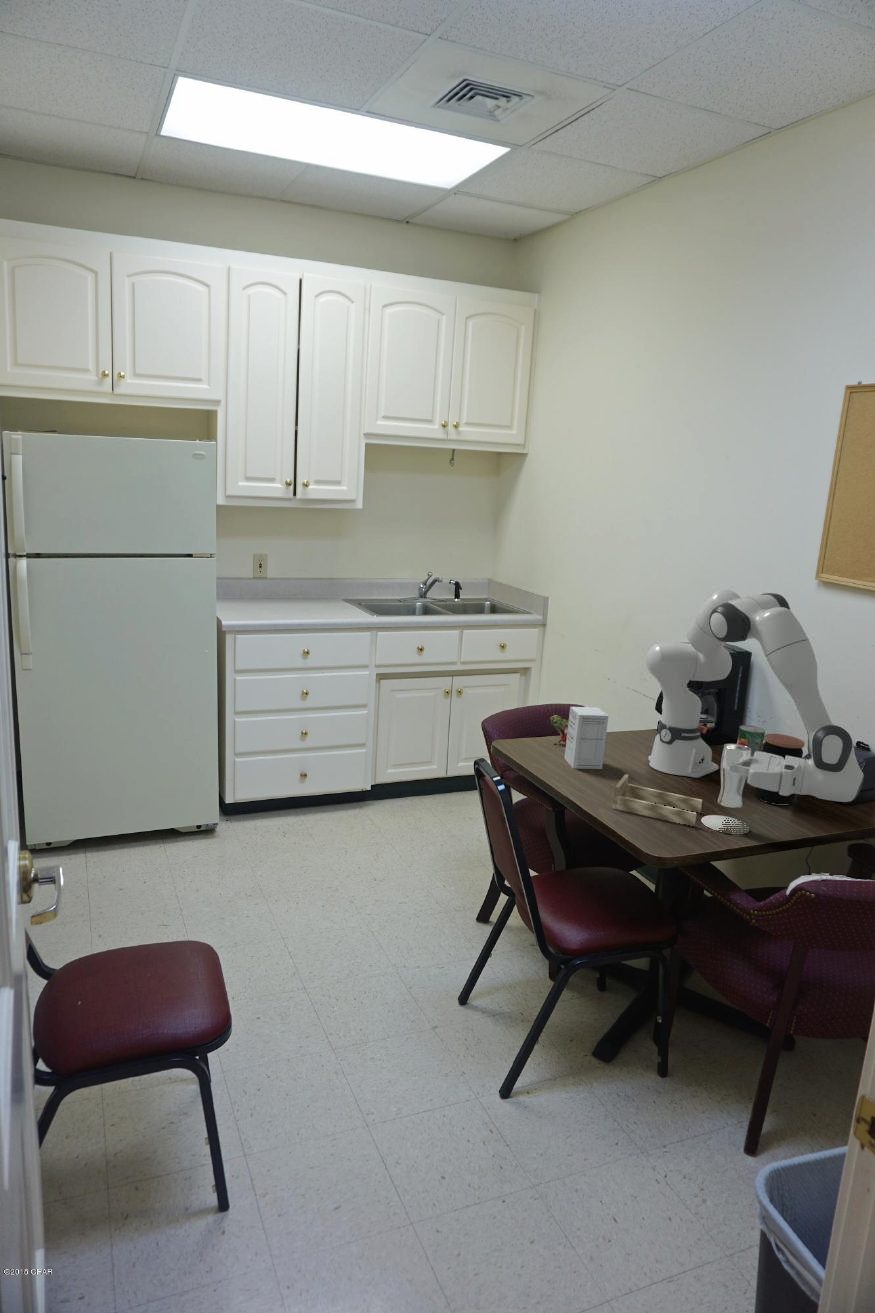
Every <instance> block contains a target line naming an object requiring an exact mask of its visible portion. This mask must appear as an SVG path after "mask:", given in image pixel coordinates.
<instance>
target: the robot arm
mask: <svg viewBox="0 0 875 1313" xmlns="http://www.w3.org/2000/svg"><path fill="white" fill-rule="evenodd" d="M686 637H687V641H688V643H683V642H671V641H669V642H661V643H660V642H659V643H655V644H653V645H652V646H651V647H650V648H649V650H648V652H647V653H646V658H645V659H646V660H645V663H646V667H647V669H648V672H649V673H650V674H651V675H652V676H653V677H654V678H655V679H656V680H657V682H658V683H659V686H660V688H661V691H662V700H663V701H662V712H661V717H660V718H661V719H660V720H659V722H658V729H657V732H658V734H657V735H655V739H654V743H653V746H652V749H651V754H650V755H648V758H647V760H648V761H649V766H650V767H651V768H653V769H654V770H656V771H659V772H662V773H666V774H670V775H677V776H684V777H691V778H696V779H697V778H701V777H703V776H705V775H707V774H711V773H713V772H715V771H717V770H719V765H718V764H717V763H714V762H713V761H712V760H713V759H712V758H713V756H712V755H713V751H712V748H711V747H710V746H709V745H708V744H707V743H706V742H705V741H704V740H703V739H702V737H701V736H702V735H701V733H702V734H706V733H707V729H708V728H707V727H706V726H703V725H699V724H700V717H701V711H702V706H703V705H702V701H701V699H700V698H699V696H698V695H696V693H694V692H692V691H691V690H689V689H688V681H695V682H697V681H699V682H712V681H721V680H724V679H726V678H727V677H728V675H730V672H731V670H732V667H733V665H732V664H733V661H732V656H731V654H730V653H729V651H728V649H726V648H725V645H726V643H738V642H740V643H741V642H745V641H746V640H751V639H752V640H753V639H755V640H756V641H758V643H759V644H760V646H761V649H762V652H763V654H764V656H765V658H766V661H767V663H768V665H769V666H770V668H771V670H772V672H773V673H774V676H775V677H776V678H777V679H778V681H779V683H781V685H782V686H783V687H784V689H785V690H786V691H787V693H788V694H789V696H790V697H791V699H792V700H793V702H794V704H795V706H796V708H797V711H798V713H799V716H800V718H801V720H802V723H803V725H804V727H805V730H806V732H807V754H808V756H809V759H807V758H806V759H805V758H803V757H802V758H797V757H792V756H786V757H785V760H784V758H783V757H781V756H778V755H774V754H770V753H766V752H760V751H756V752H755V753H754V756H753V757H751V759H750V767H743V766H740V765H738V764H733V763H732V764H731V766H730V771H731V772H736V773H738V774H741V775H743V776H747V779H746V781H747V782H746V783H747V784H749V785H750V786H752V787H754V788H756V787H758V788H762V789H766V790H770V791H775V792H777V791H779V794H780V795H784V796H788V795H790V794H794V793H795V794H797V795H808V796H813V797H815V798H817V799H821V800H825V801H832V802H841V803H848V802H852V801H854V800H855V799H856V798H858V796H859V794H860V792H861V789H862V786H863V784H864V780H865V775H864V773H863V771H862V770H861V766H859V763H858V760H857V758H856V754H855V747H854V742H853V738H852V736H851V735H850V733H849V732H848V731H847V730H846V729H845V728H843V727H841V726H839V725H835V724H833V722H832V720H831V717H830V716H829V713H828V711H827V709H826V706H825V704H824V702H823V699H822V697H821V695H820V690H819V686H818V664H817V663H818V662H817V659H816V656H815V651H814V649H813V646H812V644H811V642H810V640H809V637H808V635H807V633H806V631H805V630H804V628H803V626H802V625H801V623H800V621H799V620H798V618H797V617H796V616H795V615H794V613H793V612H792V611H791V607H790V604H789V603H788V600H787V599H786V598H785V597H784V596H783V595H781V594H779V593H774V592H770V593H769V592H766V593H765V592H764V593H761V594H757V595H756V594H755V595H750V596H745V597H741V596H740V595H739V594H738V593H736V592H735V591H732V590H730V589H719V590H717V591H715V592H713V594H712V595H710V596H709V597H708V598H707V600H705V602H704V603H703V604H702V605H701V607H699V609H698V611H697V613H696V614H695V616H694V617H693V619H692V620H691V622H690V624H689V626H688V628H687V630H686Z"/></svg>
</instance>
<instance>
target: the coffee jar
mask: <svg viewBox="0 0 875 1313" xmlns="http://www.w3.org/2000/svg"><path fill="white" fill-rule="evenodd" d="M804 747H805V741H804V740H802V739H800V738H798V737H795V736H792V735H788V734H782V733H765V735H764V742H763V747H762V752H766V753H770V754H774V755H778V756H781V757H783V758H784V760H785V757H786V756H792V757H797V758H803V755H804V750H803V748H804ZM754 788H755V790H754V794H755V796H756V798H757V797H758V798H759V799H761V800H763V801H767V802H769V803H775V804H790V803H792V804H793V803H794V802H795V801H796V800H795V799H796V794H795V793H794V794H790V795H788V796H784V795H780V794H779V791H777V792H775V791H770V790H766V789H762V788H758V787H754ZM758 798H757V799H758ZM759 799H758V800H759Z"/></svg>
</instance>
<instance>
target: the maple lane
mask: <svg viewBox="0 0 875 1313" xmlns="http://www.w3.org/2000/svg"><path fill="white" fill-rule="evenodd" d="M629 776H630V775H629V774H626V773H625V774H624V775H623V776H622V777H621V779H620V780H619V782H618V783H617V784H616V786H615V788H614V795H613V802H612V809H615V810H618V811H624V812H627V813H632V814H636V815H640V816H645V817H649V818H653V819H657V818H658V820H663V821H666V820H667V821H666V822H671V823H676V824H679V823H680V825H683V824H687V825H686V826H688V825H690V826H689V827H692V826H694V827H696V820H697V814H701V811H702V806H703V805H702V803H703V799H700V798H695V797H692V796H687V795H681V794H677V793H672V792H667V791H663V790H658V789H653V788H649V787H644V786H640V785H635V784H632V783H631V784H630V783H628V782H629ZM655 803H656V804H655ZM664 805H666V806H664ZM673 807H675V808H673ZM682 809H684V810H682ZM687 810H688V811H687ZM691 811H694V812H691ZM696 812H698V813H696Z"/></svg>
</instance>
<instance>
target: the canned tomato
mask: <svg viewBox="0 0 875 1313" xmlns="http://www.w3.org/2000/svg"><path fill="white" fill-rule="evenodd" d="M765 735H766V730H765V729H764V728H762V727H760V726H756V725H751V724H750V725H748V724H742V725H739V730H738V736H737V741H736V744H739V745H744V746H747V747H749V748H751V757H753V756H754V753H755V752H756V751H760V752H762V747H763V743H764V742H765V740H764V736H765Z"/></svg>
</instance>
